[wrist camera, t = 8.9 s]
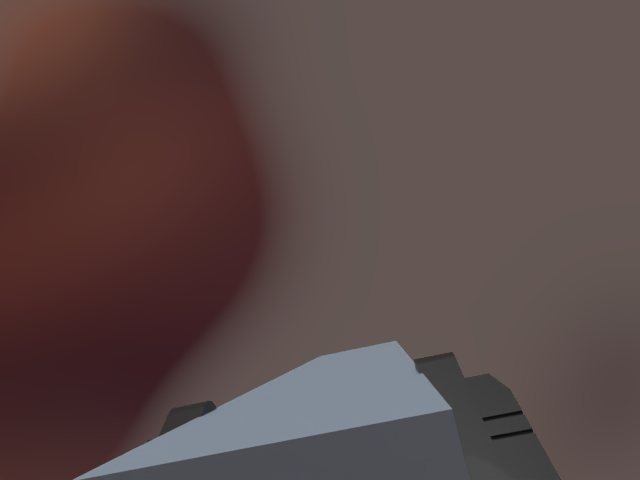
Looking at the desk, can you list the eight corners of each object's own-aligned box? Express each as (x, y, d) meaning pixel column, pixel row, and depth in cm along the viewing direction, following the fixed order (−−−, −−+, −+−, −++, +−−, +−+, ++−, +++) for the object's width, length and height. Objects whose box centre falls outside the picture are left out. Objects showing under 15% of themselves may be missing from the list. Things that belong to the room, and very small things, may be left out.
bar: (116, 955, 4) (68, 481, 5) (335, 436, 26) (320, 356, 26) (572, 907, 4) (451, 408, 5) (414, 421, 25) (396, 340, 26)
